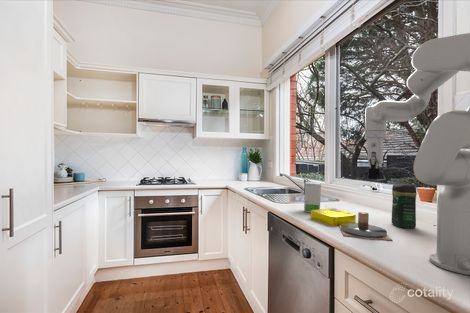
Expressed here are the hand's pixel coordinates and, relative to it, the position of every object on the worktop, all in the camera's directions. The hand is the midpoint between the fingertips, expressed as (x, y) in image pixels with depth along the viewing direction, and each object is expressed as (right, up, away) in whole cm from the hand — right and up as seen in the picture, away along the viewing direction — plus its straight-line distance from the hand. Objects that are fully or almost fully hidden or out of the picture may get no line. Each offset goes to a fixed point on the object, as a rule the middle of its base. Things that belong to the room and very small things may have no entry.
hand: (374, 178), depth 103 cm
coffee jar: (+17, -22, +7) cm, 28 cm away
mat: (-6, -21, -3) cm, 22 cm away
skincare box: (-15, -21, +34) cm, 43 cm away
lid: (-6, -21, -3) cm, 22 cm away
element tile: (-11, -22, +15) cm, 29 cm away
